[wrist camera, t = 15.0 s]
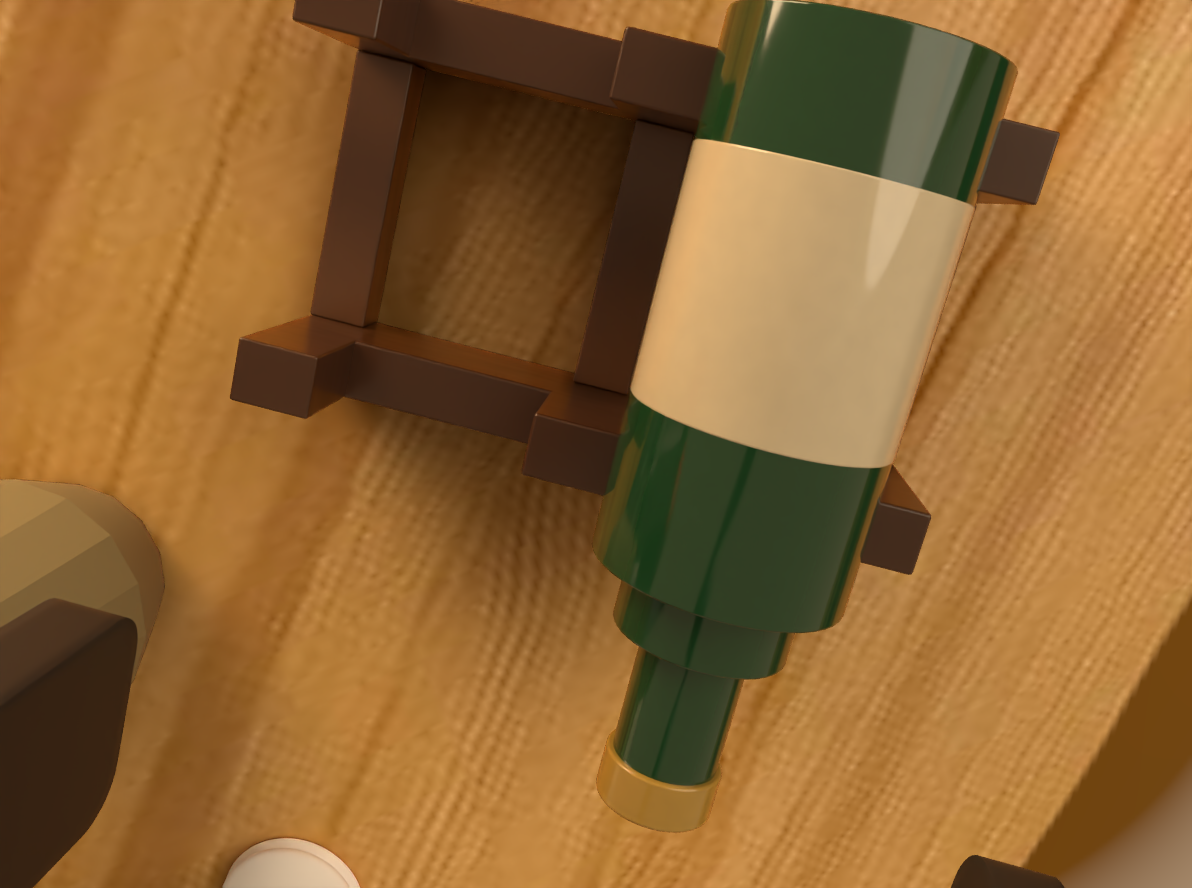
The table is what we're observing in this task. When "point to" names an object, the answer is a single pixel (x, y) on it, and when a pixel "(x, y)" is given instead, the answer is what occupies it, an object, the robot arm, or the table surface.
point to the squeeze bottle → (76, 554)
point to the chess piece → (289, 867)
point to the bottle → (780, 363)
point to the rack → (630, 261)
